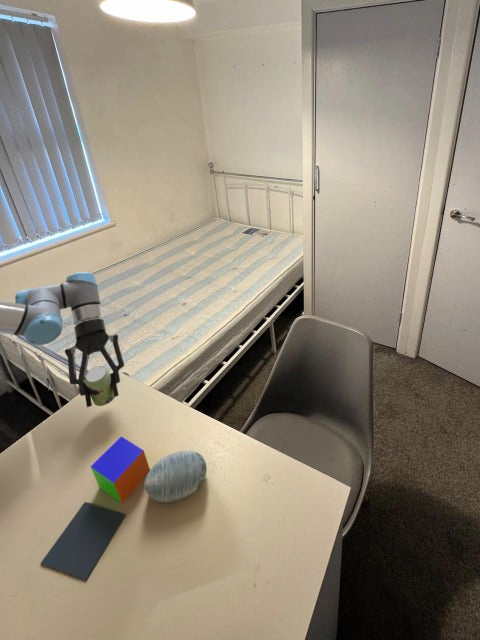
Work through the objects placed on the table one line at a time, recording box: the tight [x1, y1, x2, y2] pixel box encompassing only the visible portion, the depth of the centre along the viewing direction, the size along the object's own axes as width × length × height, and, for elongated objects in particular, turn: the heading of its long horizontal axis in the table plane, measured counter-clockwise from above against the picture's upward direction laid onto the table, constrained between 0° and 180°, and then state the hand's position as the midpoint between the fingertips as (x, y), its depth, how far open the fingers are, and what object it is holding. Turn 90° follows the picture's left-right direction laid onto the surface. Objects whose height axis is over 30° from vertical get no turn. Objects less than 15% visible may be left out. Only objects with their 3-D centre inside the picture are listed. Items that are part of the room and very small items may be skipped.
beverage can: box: [85, 365, 116, 407], centre depth 92 cm, size 6×7×12 cm
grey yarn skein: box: [144, 450, 208, 504], centre depth 76 cm, size 14×10×10 cm
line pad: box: [40, 501, 127, 581], centre depth 68 cm, size 11×11×1 cm
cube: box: [90, 436, 151, 504], centre depth 77 cm, size 8×8×8 cm
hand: (103, 401), depth 90 cm, fingers closed on beverage can, 6 cm apart
